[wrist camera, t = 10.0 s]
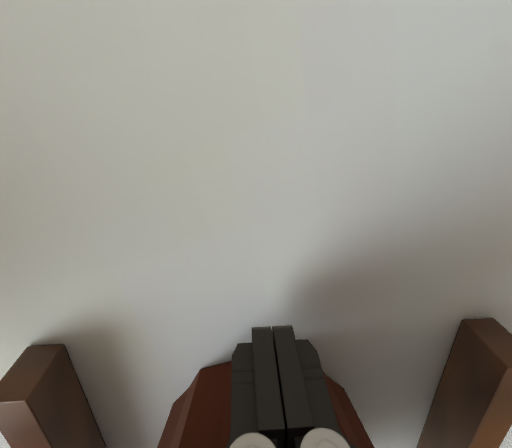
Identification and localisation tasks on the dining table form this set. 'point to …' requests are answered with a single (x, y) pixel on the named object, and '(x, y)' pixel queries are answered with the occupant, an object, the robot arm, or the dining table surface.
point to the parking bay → (431, 444)
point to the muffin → (219, 413)
